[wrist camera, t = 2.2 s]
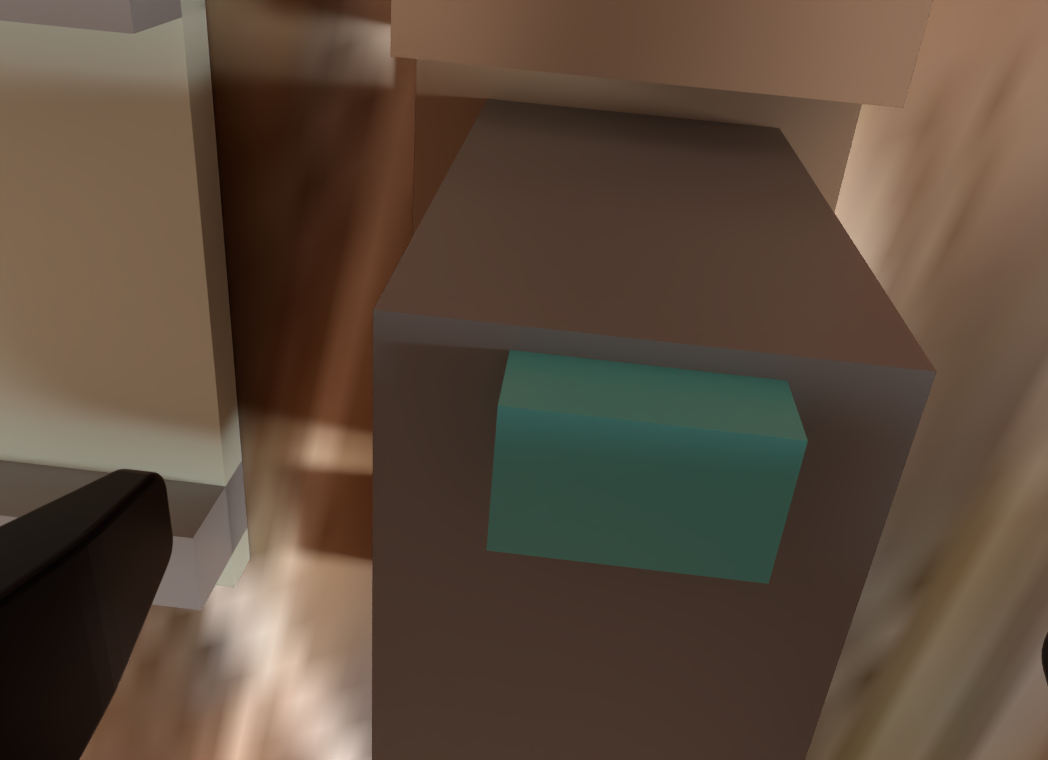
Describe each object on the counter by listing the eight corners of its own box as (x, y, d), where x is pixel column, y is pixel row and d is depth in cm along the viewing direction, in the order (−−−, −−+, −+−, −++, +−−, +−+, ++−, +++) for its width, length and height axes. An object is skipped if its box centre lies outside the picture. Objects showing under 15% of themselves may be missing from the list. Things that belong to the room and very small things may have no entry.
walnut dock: (910, -115, 11) (963, -111, 10) (726, 616, 17) (740, 700, 15) (426, -159, 12) (392, -165, 10) (407, 577, 17) (384, 656, 16)
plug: (780, 128, 13) (975, 432, 6) (702, 487, 16) (772, 970, 9) (488, 99, 13) (344, 361, 6) (465, 460, 16) (353, 914, 9)
